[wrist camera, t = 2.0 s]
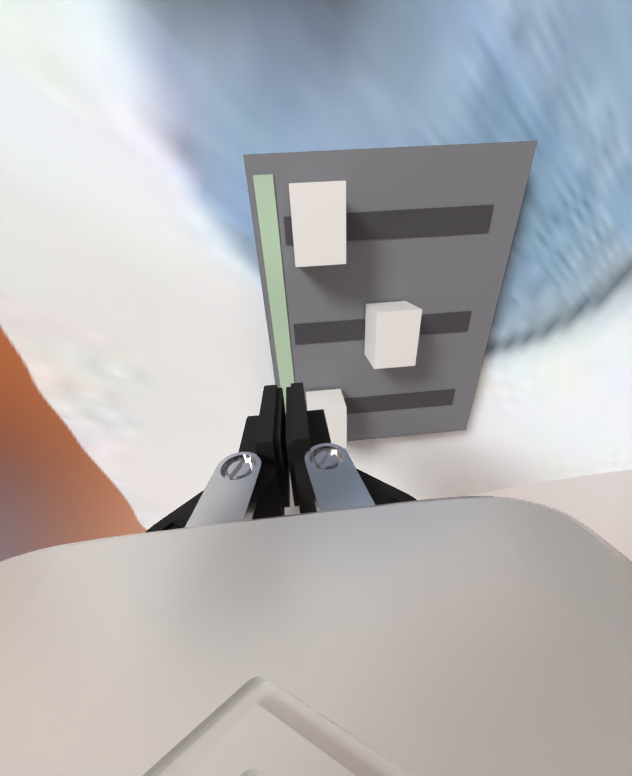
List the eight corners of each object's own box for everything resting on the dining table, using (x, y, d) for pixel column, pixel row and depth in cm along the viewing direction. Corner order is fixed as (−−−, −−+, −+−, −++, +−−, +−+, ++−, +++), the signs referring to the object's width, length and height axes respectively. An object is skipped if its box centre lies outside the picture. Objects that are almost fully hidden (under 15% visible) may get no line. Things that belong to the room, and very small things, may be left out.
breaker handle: (405, 300, 20) (422, 309, 18) (400, 351, 22) (415, 365, 20) (365, 303, 20) (376, 312, 18) (364, 354, 22) (374, 369, 20)
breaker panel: (514, 150, 19) (588, 119, 14) (454, 418, 29) (486, 452, 24) (248, 163, 18) (232, 134, 13) (284, 434, 28) (283, 471, 23)
